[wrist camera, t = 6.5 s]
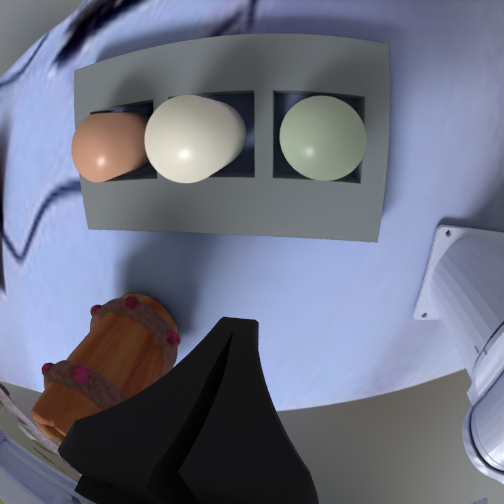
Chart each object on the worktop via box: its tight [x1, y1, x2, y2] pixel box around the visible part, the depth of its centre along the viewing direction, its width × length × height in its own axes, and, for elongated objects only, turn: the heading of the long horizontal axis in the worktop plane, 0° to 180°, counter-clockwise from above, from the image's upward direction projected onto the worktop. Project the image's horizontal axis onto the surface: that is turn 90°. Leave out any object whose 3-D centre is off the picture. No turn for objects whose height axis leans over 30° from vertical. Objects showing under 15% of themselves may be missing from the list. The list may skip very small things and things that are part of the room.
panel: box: [74, 33, 390, 242], centre depth 16 cm, size 20×12×2 cm, turn 91°
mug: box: [31, 293, 180, 477], centre depth 19 cm, size 15×8×15 cm, turn 167°
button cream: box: [145, 95, 246, 183], centre depth 14 cm, size 4×4×4 cm
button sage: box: [280, 96, 367, 181], centre depth 14 cm, size 4×4×4 cm
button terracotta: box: [72, 112, 150, 182], centre depth 15 cm, size 4×4×4 cm
